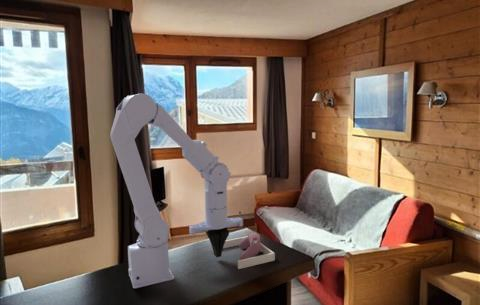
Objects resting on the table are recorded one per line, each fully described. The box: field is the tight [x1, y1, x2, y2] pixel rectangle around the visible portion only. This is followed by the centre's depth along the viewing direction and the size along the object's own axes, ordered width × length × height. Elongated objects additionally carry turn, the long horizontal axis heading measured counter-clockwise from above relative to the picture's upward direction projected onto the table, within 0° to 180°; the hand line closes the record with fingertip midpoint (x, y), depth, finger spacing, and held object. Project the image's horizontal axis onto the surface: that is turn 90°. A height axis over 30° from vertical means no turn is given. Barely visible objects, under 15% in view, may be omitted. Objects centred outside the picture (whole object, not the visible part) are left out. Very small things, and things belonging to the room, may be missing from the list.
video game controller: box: [238, 231, 262, 260], centre depth 94 cm, size 10×5×7 cm, turn 1°
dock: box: [223, 235, 276, 270], centre depth 95 cm, size 11×14×2 cm
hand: (217, 255), depth 91 cm, fingers closed
